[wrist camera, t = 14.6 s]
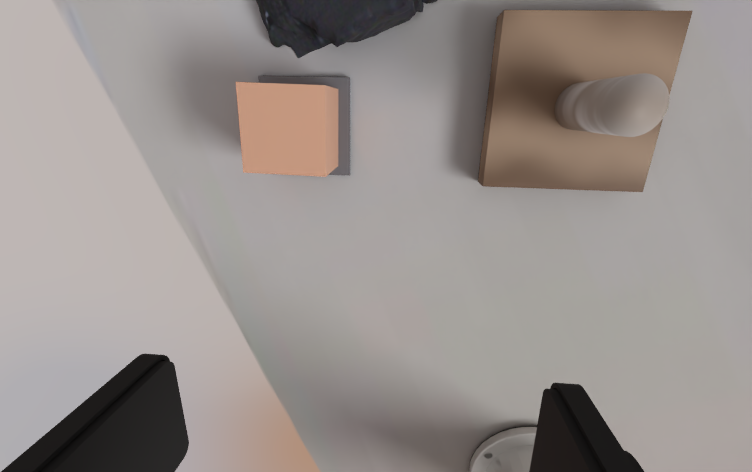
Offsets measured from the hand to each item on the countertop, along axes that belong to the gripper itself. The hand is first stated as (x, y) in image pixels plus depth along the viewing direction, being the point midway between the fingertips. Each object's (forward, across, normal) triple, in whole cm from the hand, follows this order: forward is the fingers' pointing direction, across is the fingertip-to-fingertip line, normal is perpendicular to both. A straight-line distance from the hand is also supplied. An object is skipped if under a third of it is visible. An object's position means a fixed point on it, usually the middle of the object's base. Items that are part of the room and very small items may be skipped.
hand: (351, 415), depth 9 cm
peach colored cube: (+23, +8, -7) cm, 25 cm away
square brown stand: (+24, -13, -8) cm, 28 cm away
